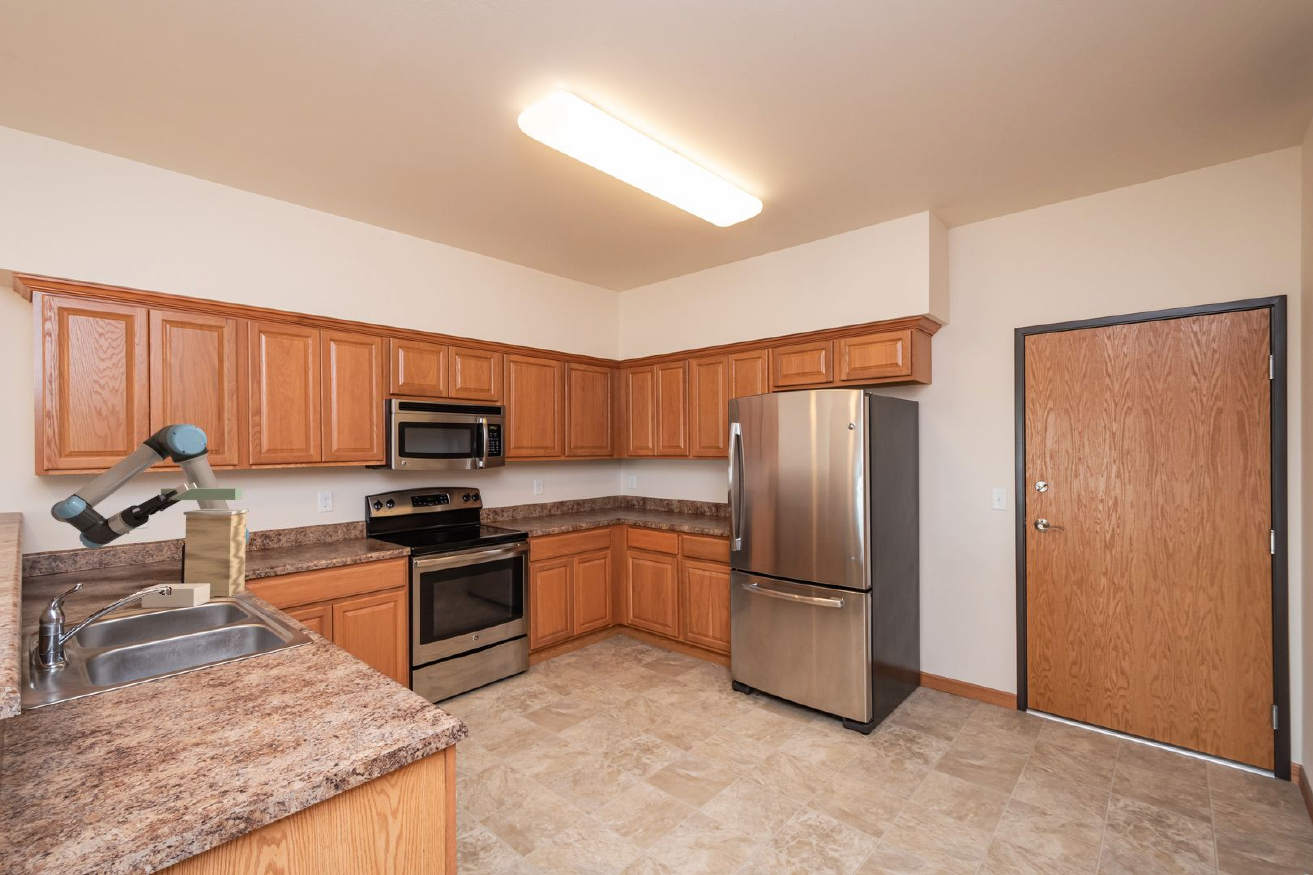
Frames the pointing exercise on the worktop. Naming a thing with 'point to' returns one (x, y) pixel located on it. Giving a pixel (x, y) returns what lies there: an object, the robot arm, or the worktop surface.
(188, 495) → the pale green rectangular block
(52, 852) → the worktop surface
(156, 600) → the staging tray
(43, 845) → the worktop surface
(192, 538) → the tall wooden pillar block
